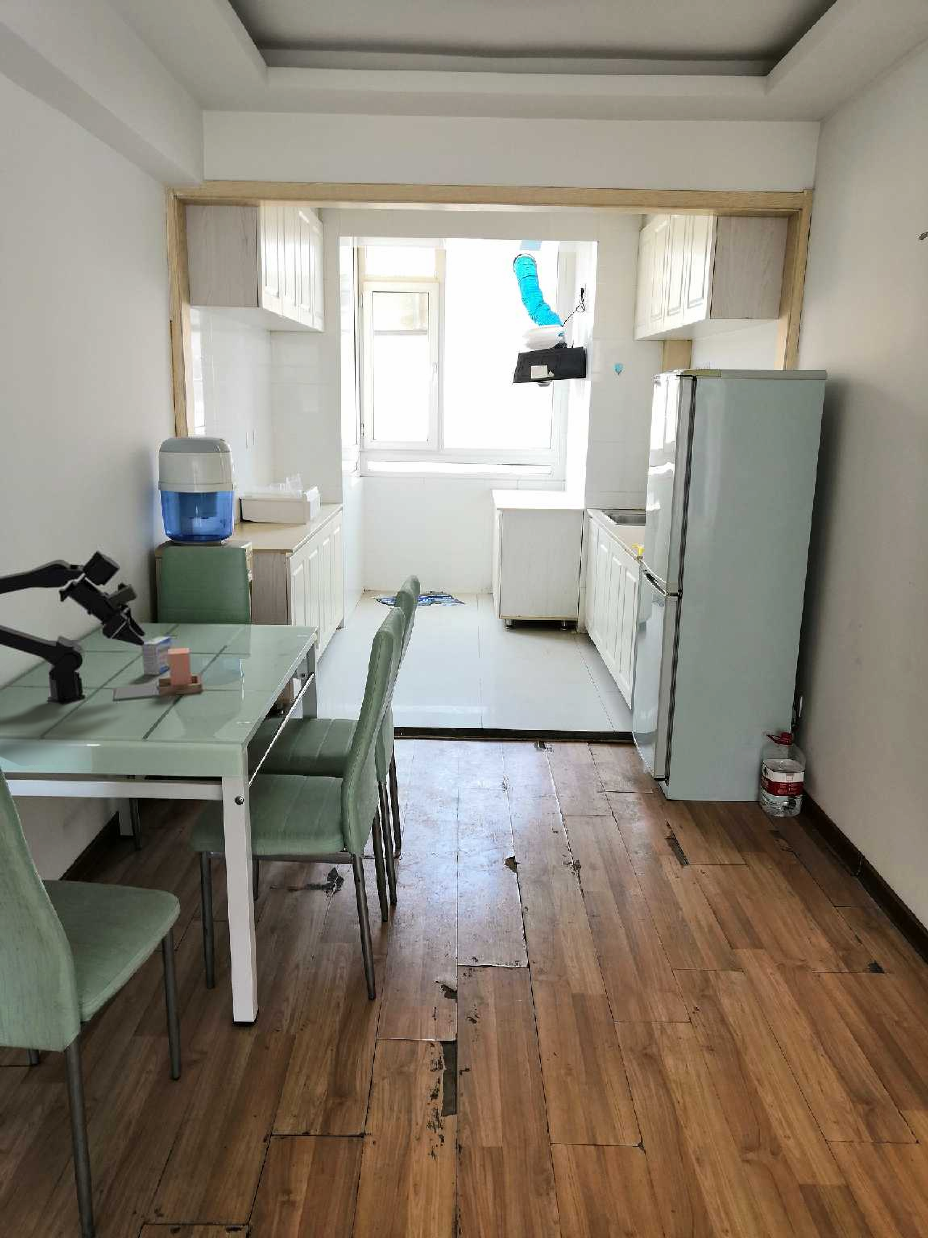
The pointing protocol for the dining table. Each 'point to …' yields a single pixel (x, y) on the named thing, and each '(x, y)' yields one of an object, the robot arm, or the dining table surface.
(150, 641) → the medicine box
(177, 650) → the salmon orange rectangular block
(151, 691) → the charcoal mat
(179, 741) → the dining table surface
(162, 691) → the frame
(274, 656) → the dining table surface
